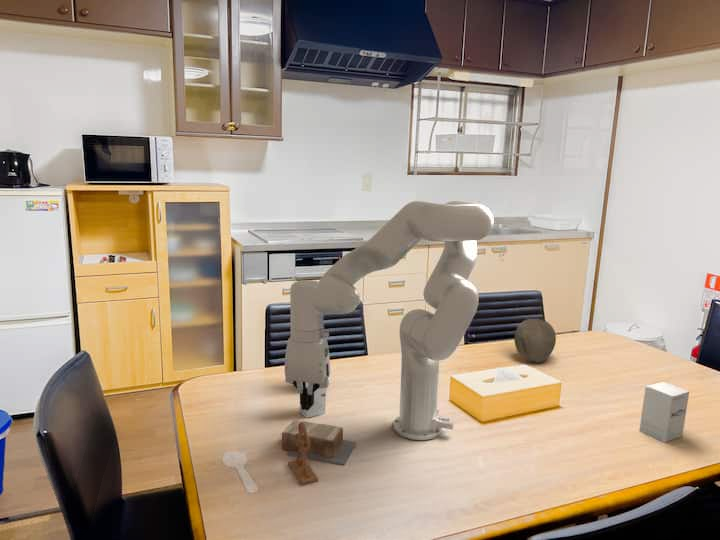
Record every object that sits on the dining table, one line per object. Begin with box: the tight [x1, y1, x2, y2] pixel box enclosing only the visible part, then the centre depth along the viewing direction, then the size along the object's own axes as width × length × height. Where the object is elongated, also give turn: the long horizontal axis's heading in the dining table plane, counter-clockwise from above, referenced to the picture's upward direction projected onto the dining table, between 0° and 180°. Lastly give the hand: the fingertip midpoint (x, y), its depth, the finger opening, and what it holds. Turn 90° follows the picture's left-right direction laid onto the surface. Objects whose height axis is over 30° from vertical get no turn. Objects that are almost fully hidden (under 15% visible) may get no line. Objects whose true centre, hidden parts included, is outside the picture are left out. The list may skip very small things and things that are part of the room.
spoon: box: [222, 450, 259, 494], centre depth 116 cm, size 5×18×1 cm, turn 29°
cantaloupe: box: [514, 318, 557, 363], centre depth 185 cm, size 14×14×15 cm
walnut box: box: [281, 419, 344, 458], centre depth 126 cm, size 4×7×13 cm
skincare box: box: [299, 382, 327, 419], centre depth 143 cm, size 6×4×12 cm
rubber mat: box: [286, 439, 357, 466], centre depth 125 cm, size 14×10×1 cm
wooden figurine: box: [287, 422, 319, 487], centre depth 114 cm, size 9×4×12 cm, turn 27°
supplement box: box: [639, 381, 690, 443], centre depth 135 cm, size 7×7×13 cm
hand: (307, 407), depth 124 cm, fingers closed
